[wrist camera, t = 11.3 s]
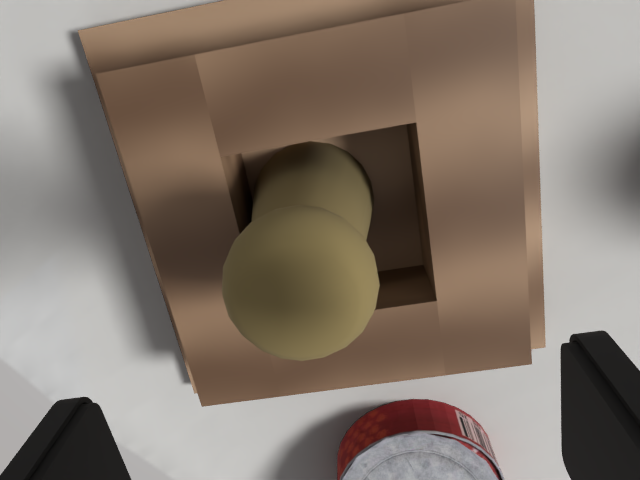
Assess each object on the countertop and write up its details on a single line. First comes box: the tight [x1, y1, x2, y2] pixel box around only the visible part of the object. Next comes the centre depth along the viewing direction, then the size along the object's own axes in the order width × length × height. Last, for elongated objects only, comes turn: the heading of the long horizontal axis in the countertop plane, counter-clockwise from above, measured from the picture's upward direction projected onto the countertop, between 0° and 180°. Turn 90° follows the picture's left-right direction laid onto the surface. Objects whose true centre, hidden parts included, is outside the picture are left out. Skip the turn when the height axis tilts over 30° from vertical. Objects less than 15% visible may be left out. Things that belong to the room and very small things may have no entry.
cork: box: [222, 141, 380, 361], centre depth 21 cm, size 6×6×11 cm
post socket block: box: [78, 0, 545, 406], centre depth 25 cm, size 20×20×5 cm
